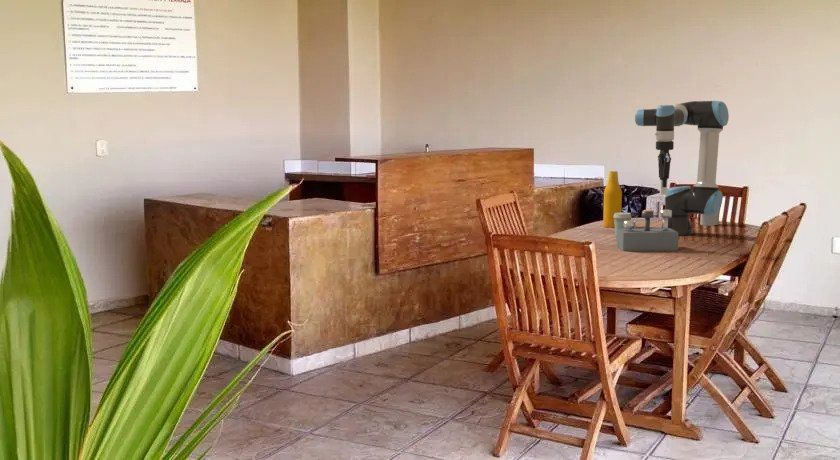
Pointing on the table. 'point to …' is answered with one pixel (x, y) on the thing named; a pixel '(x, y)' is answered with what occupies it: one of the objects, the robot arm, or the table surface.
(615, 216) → the coffee cup
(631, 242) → the console
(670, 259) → the table surface
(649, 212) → the pot knob
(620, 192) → the beer bottle
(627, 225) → the knob
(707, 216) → the cup
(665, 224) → the knob
